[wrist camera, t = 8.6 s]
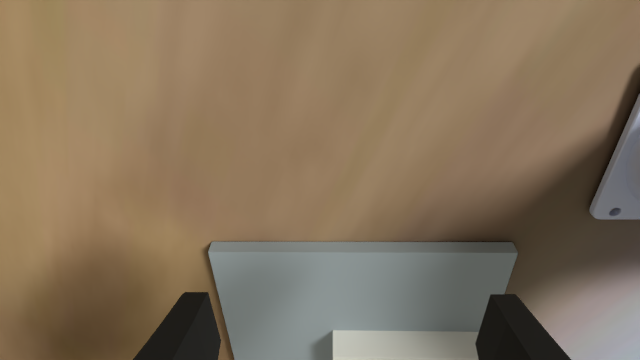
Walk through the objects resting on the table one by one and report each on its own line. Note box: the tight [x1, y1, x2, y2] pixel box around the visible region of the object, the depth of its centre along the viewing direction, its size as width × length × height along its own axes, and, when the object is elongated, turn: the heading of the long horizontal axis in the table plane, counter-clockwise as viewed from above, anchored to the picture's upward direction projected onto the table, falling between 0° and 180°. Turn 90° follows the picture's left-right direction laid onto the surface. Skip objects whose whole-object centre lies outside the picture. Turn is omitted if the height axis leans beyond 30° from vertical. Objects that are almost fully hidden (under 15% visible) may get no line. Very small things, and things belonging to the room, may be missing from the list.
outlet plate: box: [208, 242, 518, 360], centre depth 25 cm, size 16×16×3 cm
